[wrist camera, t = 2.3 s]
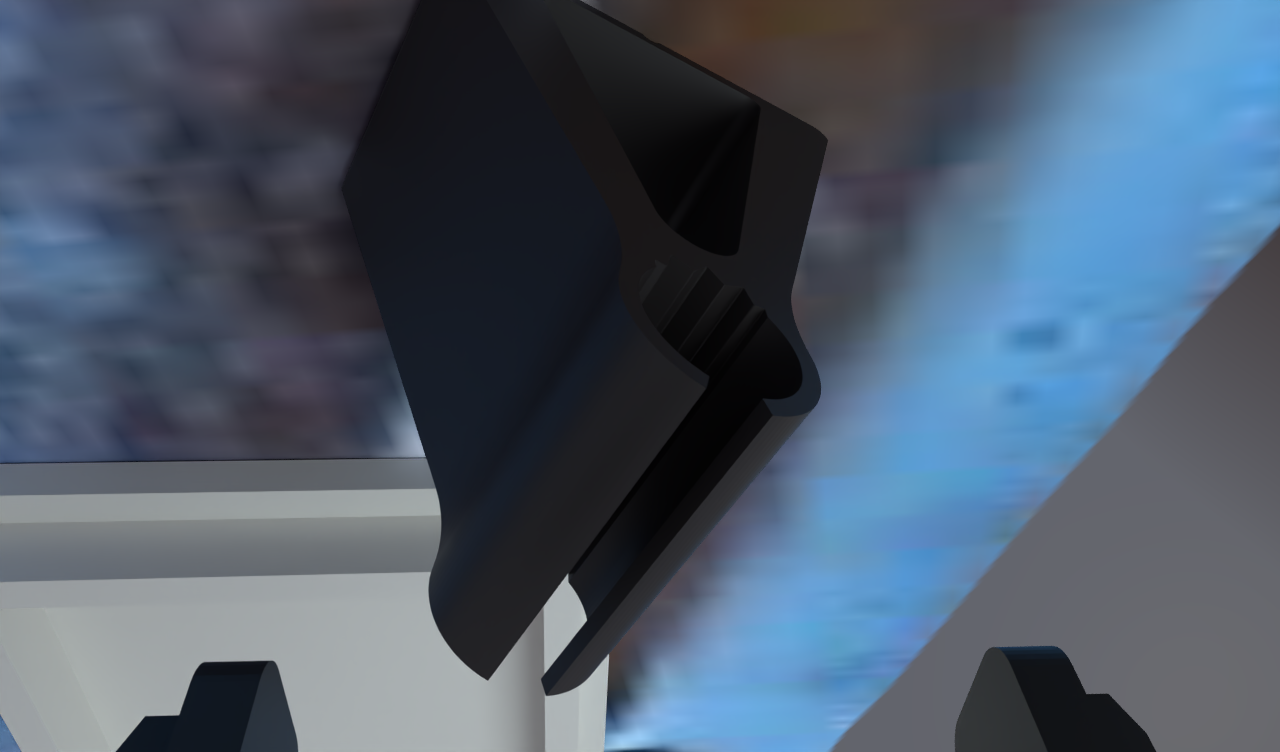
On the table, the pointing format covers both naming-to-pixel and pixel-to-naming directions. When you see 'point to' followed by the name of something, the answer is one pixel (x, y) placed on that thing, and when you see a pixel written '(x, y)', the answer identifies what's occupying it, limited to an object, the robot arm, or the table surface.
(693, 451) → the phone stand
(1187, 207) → the table surface
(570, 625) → the shallow square tray
